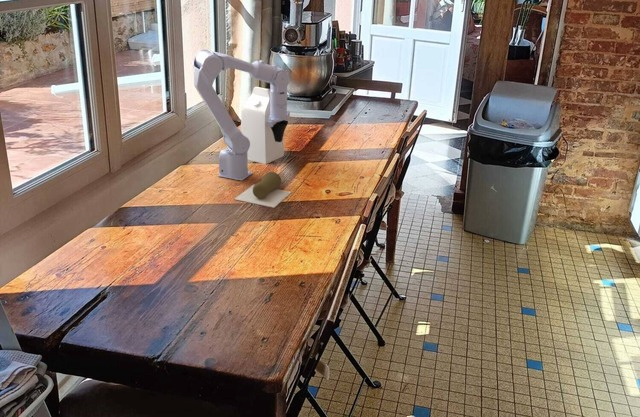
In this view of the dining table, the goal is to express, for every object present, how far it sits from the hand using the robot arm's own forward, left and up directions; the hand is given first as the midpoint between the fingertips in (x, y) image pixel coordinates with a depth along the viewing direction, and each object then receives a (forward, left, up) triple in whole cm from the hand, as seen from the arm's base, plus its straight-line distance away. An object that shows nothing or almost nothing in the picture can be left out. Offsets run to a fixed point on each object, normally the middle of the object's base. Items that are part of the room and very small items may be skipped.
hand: (278, 141), depth 217 cm
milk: (-11, +9, -11) cm, 18 cm away
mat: (+6, -24, -10) cm, 27 cm away
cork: (+6, -17, -7) cm, 19 cm away
